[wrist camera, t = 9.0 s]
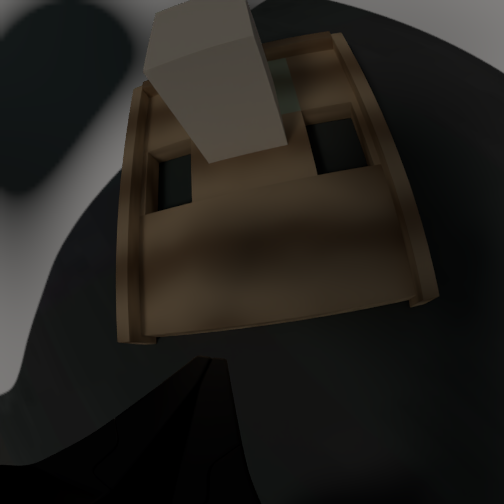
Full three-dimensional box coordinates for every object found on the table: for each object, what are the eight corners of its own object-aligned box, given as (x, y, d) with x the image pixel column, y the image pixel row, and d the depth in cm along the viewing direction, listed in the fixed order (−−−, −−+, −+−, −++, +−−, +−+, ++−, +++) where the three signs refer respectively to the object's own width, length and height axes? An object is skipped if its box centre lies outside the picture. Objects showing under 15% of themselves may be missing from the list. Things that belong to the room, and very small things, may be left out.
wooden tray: (423, 304, 19) (439, 296, 16) (145, 344, 23) (117, 342, 20) (341, 57, 26) (339, 30, 23) (150, 106, 30) (134, 85, 27)
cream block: (287, 144, 22) (253, 35, 13) (208, 163, 24) (142, 72, 14) (273, 81, 25) (241, -16, 15) (206, 99, 26) (155, 13, 17)
